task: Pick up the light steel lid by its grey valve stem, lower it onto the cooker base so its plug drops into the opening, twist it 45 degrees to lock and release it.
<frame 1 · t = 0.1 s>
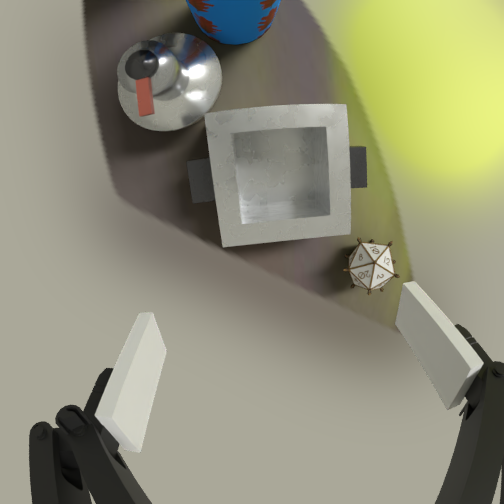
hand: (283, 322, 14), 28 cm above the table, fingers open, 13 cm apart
cooker base: (274, 165, 38), on the table
lid: (176, 85, 33), on the table
thermos: (235, 14, 29), on the table
game die: (361, 254, 44), on the table
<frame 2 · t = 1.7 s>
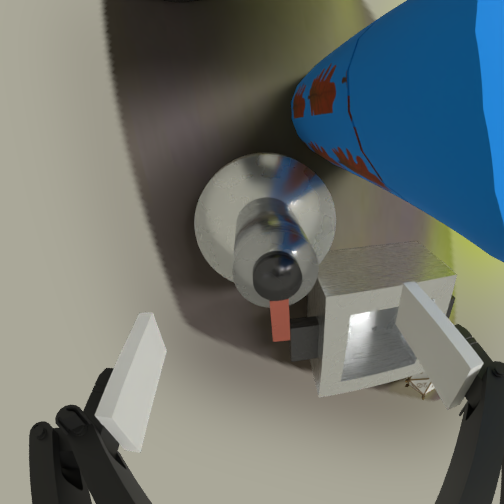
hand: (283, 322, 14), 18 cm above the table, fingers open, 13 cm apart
cooker base: (362, 298, 36), on the table
lid: (263, 211, 30), on the table
thermos: (339, 112, 26), on the table
game die: (416, 355, 42), on the table
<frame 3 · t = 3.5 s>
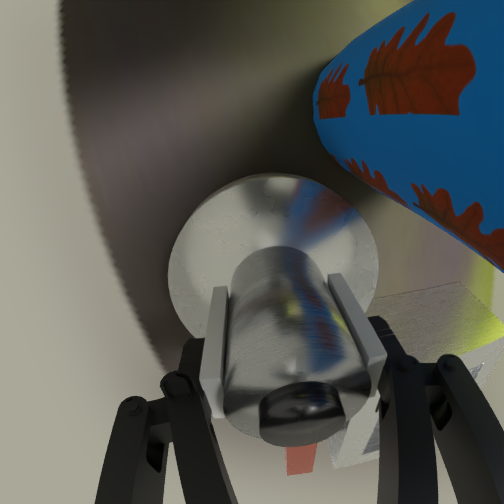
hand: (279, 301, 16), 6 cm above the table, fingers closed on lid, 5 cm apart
cooker base: (389, 351, 27), on the table
lid: (270, 254, 22), on the table, touching gripper
thermos: (379, 113, 18), on the table
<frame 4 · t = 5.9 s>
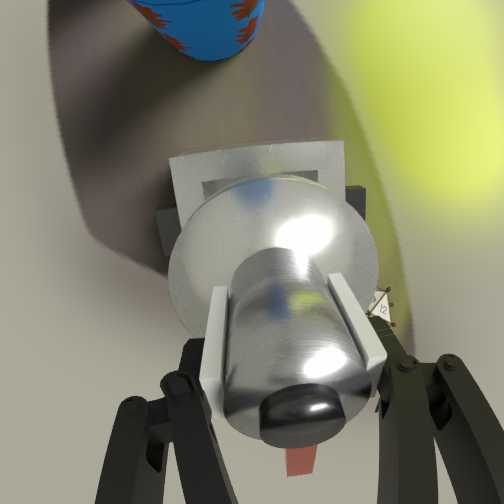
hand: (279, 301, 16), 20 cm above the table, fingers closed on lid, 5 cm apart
cooker base: (259, 203, 34), on the table
lid: (270, 255, 22), point 14 cm above the table, touching gripper
thermos: (213, 23, 25), on the table
game die: (356, 295, 40), on the table
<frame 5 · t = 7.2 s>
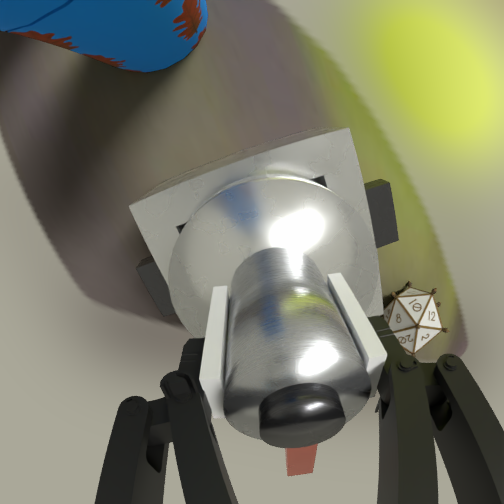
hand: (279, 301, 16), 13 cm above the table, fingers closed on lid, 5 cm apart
cooker base: (264, 225, 28), on the table
lid: (270, 255, 22), point 7 cm above the table, touching gripper
thermos: (154, 26, 19), on the table
game die: (397, 300, 33), on the table
when the fingers open (13 cm above the table, at t = 8.4 s): lid stays where it is, resting on cooker base.
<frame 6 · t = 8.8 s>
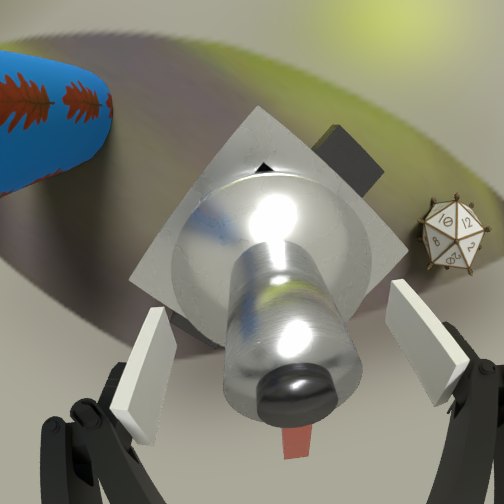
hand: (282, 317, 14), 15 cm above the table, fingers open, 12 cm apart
cooker base: (263, 224, 28), on the table
lid: (268, 249, 22), point 6 cm above the table, touching cooker base
thermos: (71, 118, 23), on the table
game die: (432, 221, 28), on the table
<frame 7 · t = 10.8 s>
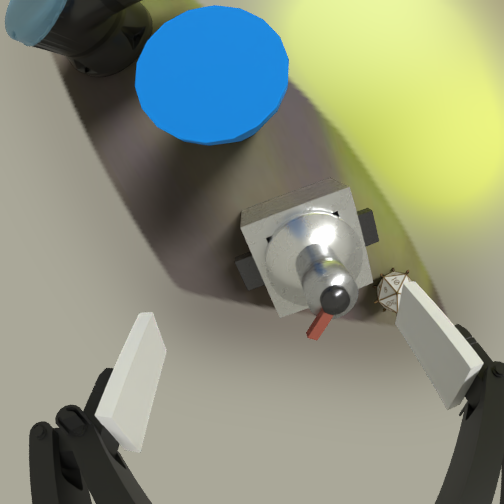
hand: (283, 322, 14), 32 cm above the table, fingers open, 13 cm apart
cooker base: (301, 235, 47), on the table
lid: (308, 249, 41), point 6 cm above the table, touching cooker base
thermos: (230, 108, 39), on the table
game die: (386, 281, 51), on the table
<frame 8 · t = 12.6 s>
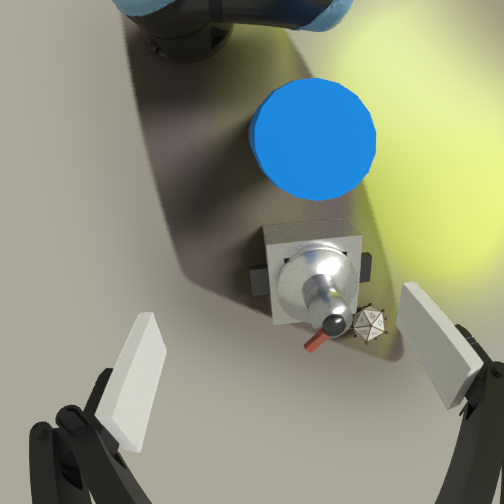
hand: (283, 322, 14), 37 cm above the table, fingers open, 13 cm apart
cooker base: (305, 259, 54), on the table
lid: (312, 274, 48), point 6 cm above the table, touching cooker base
thermos: (280, 134, 44), on the table
game die: (362, 312, 60), on the table
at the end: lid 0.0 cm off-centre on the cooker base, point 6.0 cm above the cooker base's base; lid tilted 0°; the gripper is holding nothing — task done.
